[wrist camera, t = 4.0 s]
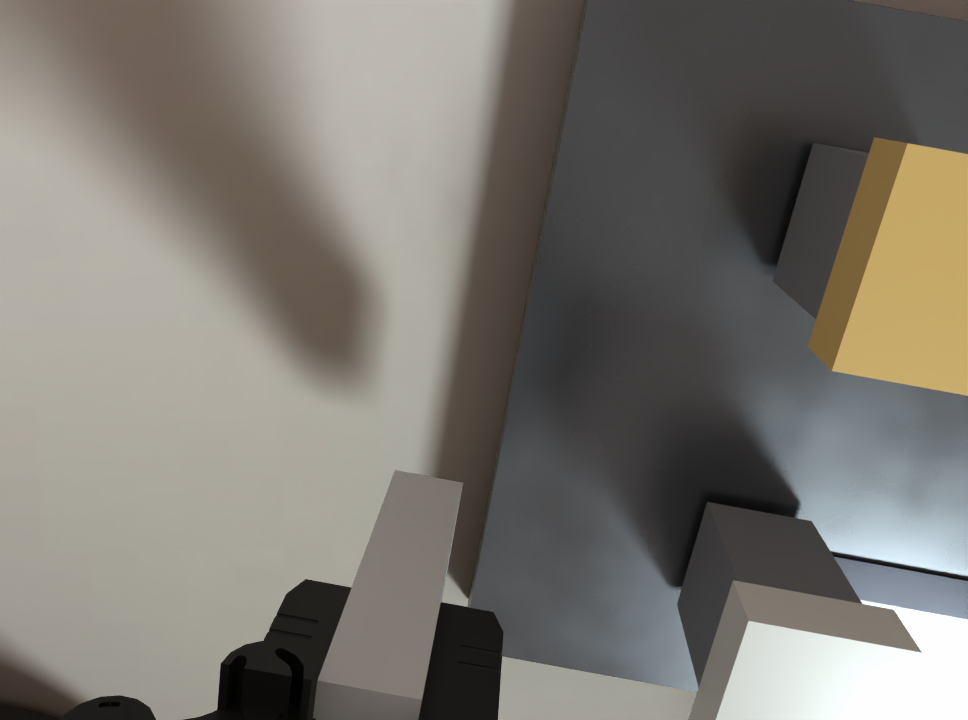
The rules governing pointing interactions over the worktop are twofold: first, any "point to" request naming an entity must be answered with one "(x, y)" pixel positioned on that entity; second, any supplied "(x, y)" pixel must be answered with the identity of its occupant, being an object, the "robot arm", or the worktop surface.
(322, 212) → the worktop surface
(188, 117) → the worktop surface
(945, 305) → the fader
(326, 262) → the worktop surface
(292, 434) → the worktop surface
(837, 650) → the fader
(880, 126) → the console
